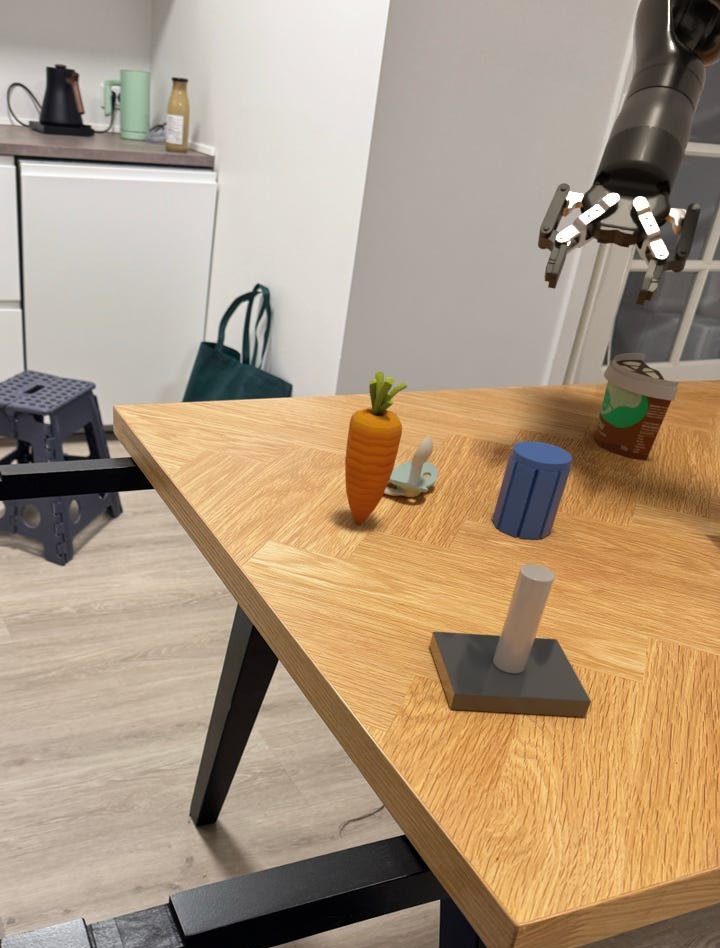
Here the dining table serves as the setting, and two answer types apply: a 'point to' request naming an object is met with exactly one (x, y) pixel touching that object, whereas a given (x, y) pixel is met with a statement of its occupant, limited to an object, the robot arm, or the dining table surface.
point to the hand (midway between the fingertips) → (596, 291)
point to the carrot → (372, 448)
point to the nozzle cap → (532, 489)
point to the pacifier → (414, 473)
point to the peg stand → (511, 660)
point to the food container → (633, 406)
